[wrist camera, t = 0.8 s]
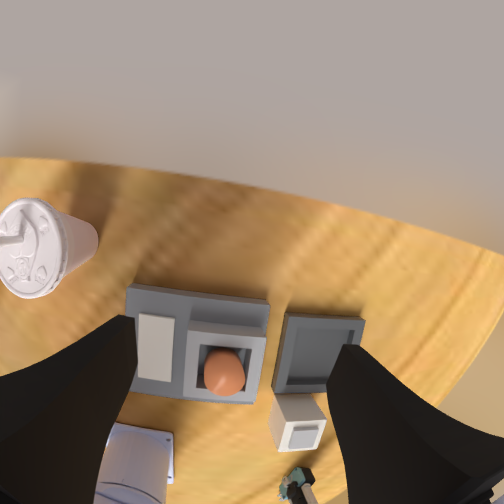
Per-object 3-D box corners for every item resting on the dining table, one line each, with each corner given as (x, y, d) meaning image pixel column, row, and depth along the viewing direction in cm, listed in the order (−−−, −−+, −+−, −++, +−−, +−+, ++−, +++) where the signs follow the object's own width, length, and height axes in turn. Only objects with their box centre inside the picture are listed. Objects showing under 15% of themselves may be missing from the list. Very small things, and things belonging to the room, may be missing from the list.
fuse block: (302, 422, 28) (318, 452, 22) (267, 423, 27) (279, 455, 22) (310, 393, 28) (329, 422, 22) (273, 393, 27) (287, 425, 22)
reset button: (238, 380, 23) (242, 397, 20) (202, 377, 22) (202, 394, 19) (243, 348, 22) (247, 363, 20) (205, 345, 22) (206, 360, 19)
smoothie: (110, 202, 23) (19, 180, 9) (114, 275, 24) (30, 322, 10) (52, 209, 22) (-52, 199, 8) (56, 277, 23) (-42, 315, 9)
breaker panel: (250, 393, 27) (257, 419, 22) (130, 380, 25) (119, 404, 20) (265, 299, 26) (277, 313, 22) (132, 282, 24) (118, 293, 20)
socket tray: (341, 384, 28) (346, 391, 27) (271, 386, 27) (274, 393, 25) (358, 316, 28) (365, 320, 26) (284, 312, 26) (289, 316, 25)
